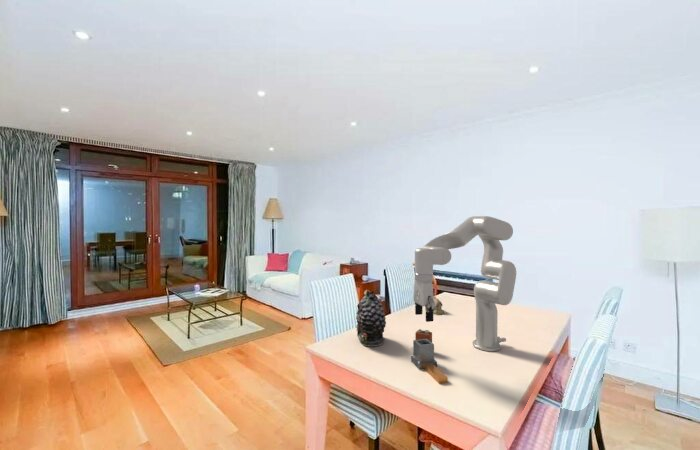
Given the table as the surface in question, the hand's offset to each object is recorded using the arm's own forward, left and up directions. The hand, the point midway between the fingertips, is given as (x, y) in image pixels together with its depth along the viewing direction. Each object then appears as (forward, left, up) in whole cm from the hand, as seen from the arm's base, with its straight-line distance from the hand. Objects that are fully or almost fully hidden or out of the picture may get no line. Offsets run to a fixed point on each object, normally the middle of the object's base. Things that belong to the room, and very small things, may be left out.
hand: (424, 317), depth 136 cm
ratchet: (0, +6, -20) cm, 21 cm away
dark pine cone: (+14, -31, -20) cm, 40 cm away
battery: (-6, -12, -20) cm, 24 cm away
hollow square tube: (0, 0, -18) cm, 18 cm away
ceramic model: (-42, -69, -20) cm, 83 cm away
